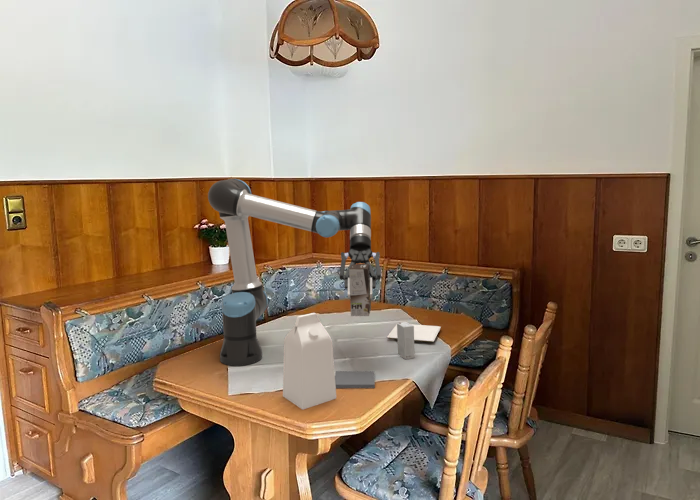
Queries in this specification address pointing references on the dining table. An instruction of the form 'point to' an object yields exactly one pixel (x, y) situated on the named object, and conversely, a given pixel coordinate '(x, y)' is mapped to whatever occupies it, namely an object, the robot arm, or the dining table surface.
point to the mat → (355, 379)
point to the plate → (419, 333)
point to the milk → (308, 363)
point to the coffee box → (360, 290)
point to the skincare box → (405, 340)
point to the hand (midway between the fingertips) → (360, 296)
